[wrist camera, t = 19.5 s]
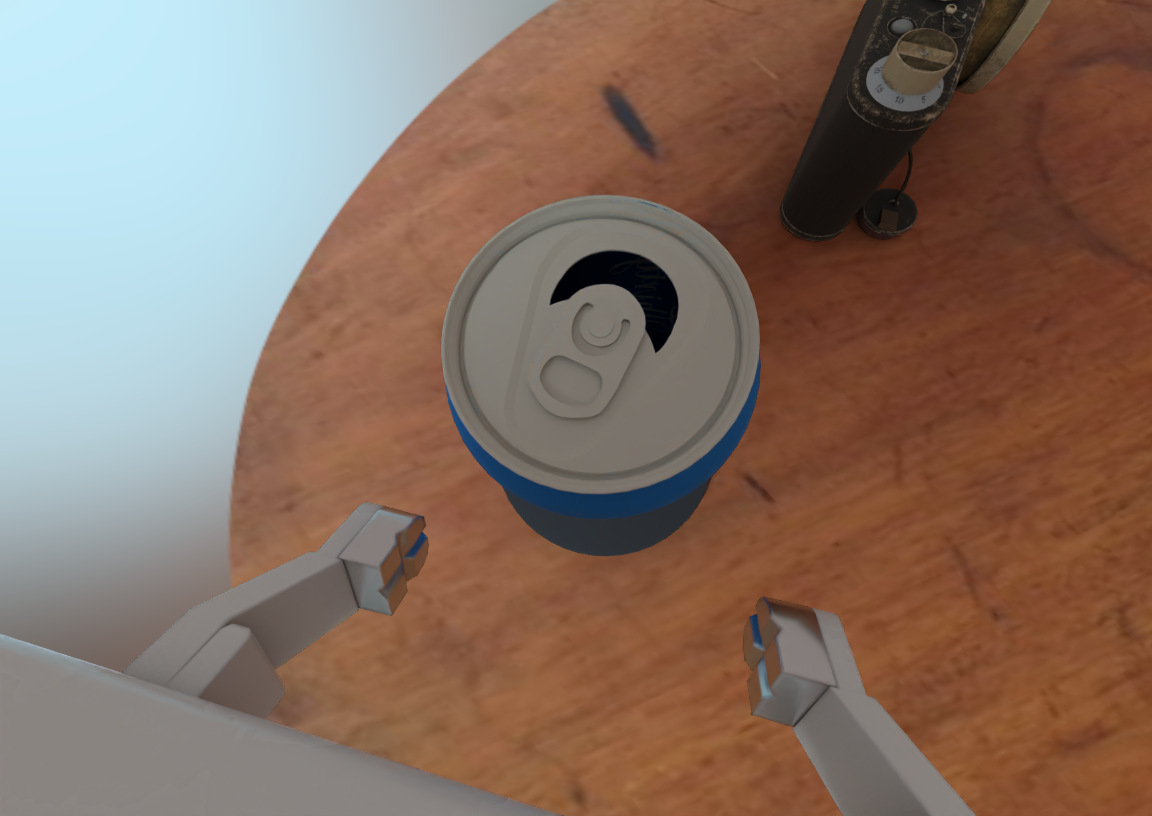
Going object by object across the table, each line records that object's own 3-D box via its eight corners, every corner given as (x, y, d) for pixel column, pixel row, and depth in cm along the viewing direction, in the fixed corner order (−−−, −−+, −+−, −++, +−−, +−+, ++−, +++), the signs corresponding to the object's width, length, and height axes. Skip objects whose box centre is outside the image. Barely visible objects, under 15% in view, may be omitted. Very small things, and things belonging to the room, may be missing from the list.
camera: (896, 270, 20) (1076, 122, 12) (760, 226, 21) (847, 64, 13) (982, 20, 23) (1172, -228, 15) (859, -7, 24) (977, -252, 16)
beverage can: (701, 407, 19) (845, 250, 7) (638, 538, 18) (688, 601, 6) (575, 348, 20) (526, 131, 8) (509, 468, 19) (348, 410, 7)
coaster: (747, 516, 18) (750, 516, 18) (528, 584, 18) (526, 586, 18) (668, 315, 20) (669, 311, 20) (475, 376, 21) (472, 374, 20)
